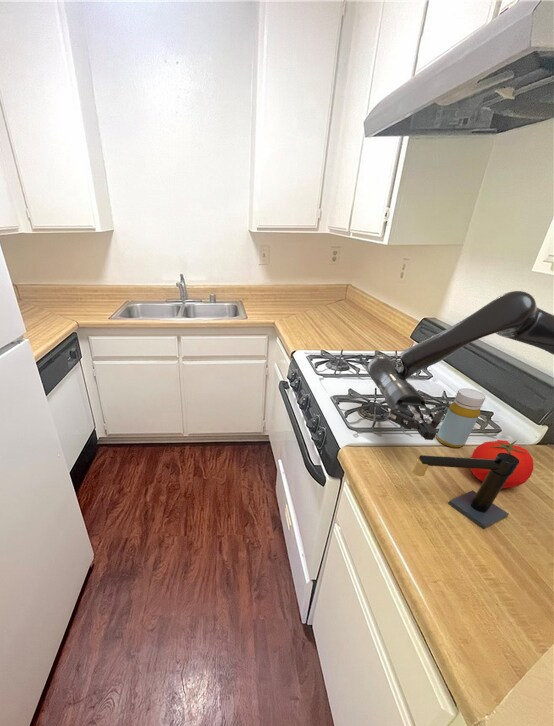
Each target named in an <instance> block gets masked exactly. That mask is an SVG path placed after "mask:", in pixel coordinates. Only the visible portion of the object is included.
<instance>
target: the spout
mask: <svg viewBox="0 0 554 726" xmlns="http://www.w3.org/2000/svg"><path fill="white" fill-rule="evenodd" d="M518 464H519V460H518V458H516V457H515V456H513V455H511V454H508V453H498V454H497V456H496V458H495V459H494V460H492V459H476V458H471V457H459V456H457V457H456V456H442V455H423V454H421V455H420V456H418V458H417V459H416V462H415V464H414V466H413V468H412V473H413V474H414V475H415V476H418V477H423V476H425V474H426V472H427V470H428V467H442V468H443V467H444V468H459V469H471V468H473V469H489V470H493V471H495V472H496V473H498V474H501V475H505V476H510V475H512V473H513V472H514V470H515V469H516V467H517V466H518Z"/></svg>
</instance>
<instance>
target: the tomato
mask: <svg viewBox="0 0 554 726" xmlns="http://www.w3.org/2000/svg"><path fill="white" fill-rule="evenodd" d="M517 441H518V440H514V441H513V442H511V443H510V442H509V441H508V440H502V439H497V440H491V441H484V442H482V443H481V444H479V445H478V446H476V448H475V449H474V450H473V451H472V454H471V456H470V458H476V459H492V460H494V459H495V458H496V456H497V454H498V453H508V454H511V455H513V456H515V457H516V458H518V460H519V464H518V466H517V467H516V469H515V470H514V472H513V473H512V475H510V476H509V477H508V479H507V481H506V482H505V484H504V485H503V487H502V489H507V488H515V487H519V486H522V485H524V484H525V483H526V482H527V481H528V480H529V479H530V478H531V476H532V474H533V472H534V458H533V457H532V455H531V453H530V452H529V451H528V449H527V448H524V447H522V446H520V445H514V444H516V442H517ZM470 471H471V472H472V475H474V476H475V477H476V478H477V479H478V480H479V481H481V482H483V481H484V479H485V478H486V476H487V474H488V472H489V471H490V470H489V469H473V468H470Z"/></svg>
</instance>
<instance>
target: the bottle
mask: <svg viewBox="0 0 554 726" xmlns="http://www.w3.org/2000/svg"><path fill="white" fill-rule="evenodd" d="M486 398H487V396H486V394H485V393H484V392H481V391H479V390H477V389H473V388H465V387H463V388H459V389H458V391H457V393H456V395H455V398H454V400H453V402H451V403H450V405H449V407H448V408H447V411H446V413H445V415H444V419H442V421H441V422H442V423H441V425H440V426H439V430H438V432H437V433H436V438H437V440H438V442H439V443H441V444H442V445H444V446H446V447H449V448H454V449H456V448H457V449H458V448H462V447H464V446H465V444H466V443H467V441H468V439H469V437H470V435H471V433H472V431H473V429H474V427H475V425H476V423H477V421H478V420H479V418H480V415H481V408H482V407H483V404H484V402H485V401H486Z"/></svg>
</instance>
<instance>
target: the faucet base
mask: <svg viewBox="0 0 554 726" xmlns="http://www.w3.org/2000/svg"><path fill="white" fill-rule="evenodd" d="M508 477H509V476H505V475H501V474H498V473H496V472H495V471H493V470H490V471H489V472H488V474H487V476H486V478H485V479H484V481H482V482H481V484H480V486H479V488H478V490H477V491H475V490H470V491H468V492H465V493H463V494H461V495H458V496H456V497H455V498H452V499H450V500H449V502H448V505H449V506H450V507H452V508H453V509H454V510H456V511H458V513H460V514H461V515H463V516H464V517H466V518H467V519H469V520H470V521H471V522H472V523H474V524H475V525H477V526H478V527H480V528H481V529H482V530H485V529H487V528H490V527H491V526H493V525H495V524H497V523H500V521H503V520H504V519H507V518H508V517H509V515H510V513H509V512H507V511H505V510H504V509H502V508H501V507H499V506H498V505H497V504H495V503H494V502H495V500H496V499H497V497H498V495H499V494H500V492H501V490H502V489H503V488H502V487H503V485H504V484H505V482H506V481H507V479H508Z"/></svg>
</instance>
